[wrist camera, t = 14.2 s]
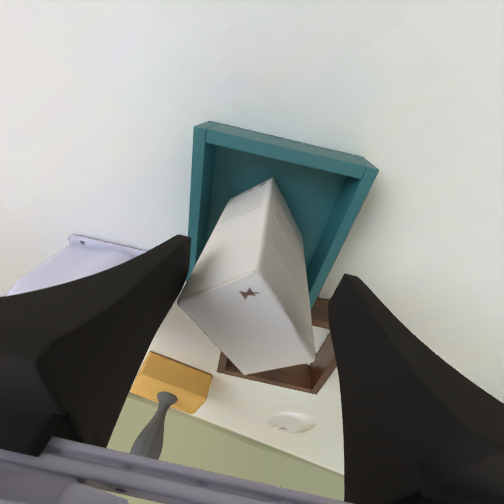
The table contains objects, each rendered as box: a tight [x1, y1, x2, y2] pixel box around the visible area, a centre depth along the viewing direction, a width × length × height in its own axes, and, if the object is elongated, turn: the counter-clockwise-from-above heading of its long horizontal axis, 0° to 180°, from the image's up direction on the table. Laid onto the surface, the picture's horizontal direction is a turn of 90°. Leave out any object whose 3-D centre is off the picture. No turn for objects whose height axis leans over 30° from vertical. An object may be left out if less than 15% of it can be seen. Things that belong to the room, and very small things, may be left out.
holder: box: [217, 298, 337, 394], centre depth 28 cm, size 13×13×3 cm
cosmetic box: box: [177, 178, 316, 375], centre depth 16 cm, size 6×4×12 cm
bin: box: [186, 121, 379, 309], centre depth 19 cm, size 12×13×4 cm
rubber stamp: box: [130, 351, 212, 460], centre depth 32 cm, size 10×6×12 cm, turn 62°
